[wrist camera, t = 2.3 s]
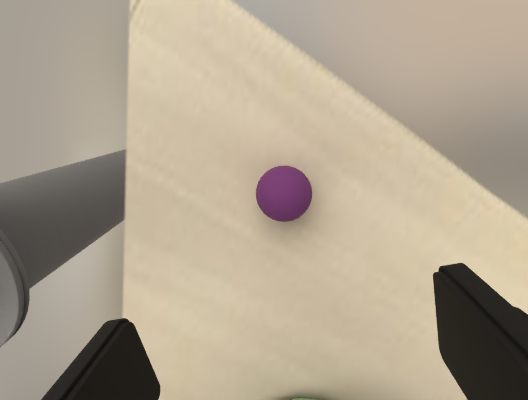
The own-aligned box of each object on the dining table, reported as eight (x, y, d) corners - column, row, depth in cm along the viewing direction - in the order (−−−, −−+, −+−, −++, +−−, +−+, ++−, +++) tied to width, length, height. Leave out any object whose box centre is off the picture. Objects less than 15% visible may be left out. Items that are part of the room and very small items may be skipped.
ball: (247, 185, 24) (241, 200, 20) (285, 150, 23) (286, 159, 19) (281, 220, 24) (282, 241, 20) (319, 188, 23) (327, 203, 20)
